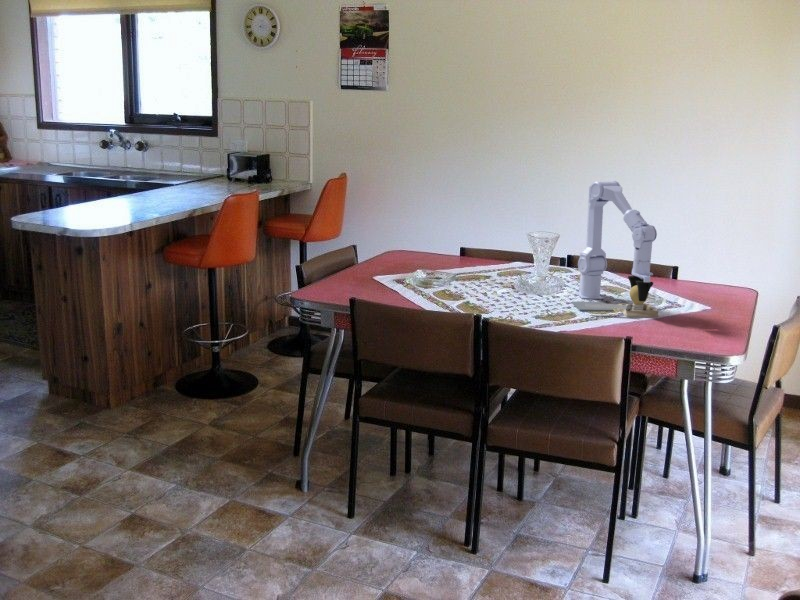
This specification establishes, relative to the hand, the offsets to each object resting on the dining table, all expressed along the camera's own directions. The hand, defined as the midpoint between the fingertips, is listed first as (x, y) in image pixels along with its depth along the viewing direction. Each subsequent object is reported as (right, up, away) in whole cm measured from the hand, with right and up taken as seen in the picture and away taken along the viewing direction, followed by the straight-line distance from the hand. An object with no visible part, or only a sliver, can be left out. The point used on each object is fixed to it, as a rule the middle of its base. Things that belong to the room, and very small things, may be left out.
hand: (638, 298), depth 296 cm
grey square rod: (-12, -4, -3) cm, 13 cm away
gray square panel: (-14, -3, +8) cm, 17 cm away
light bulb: (0, -5, +1) cm, 5 cm away
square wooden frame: (0, -5, +1) cm, 5 cm away
